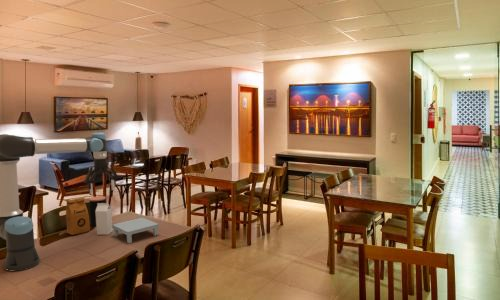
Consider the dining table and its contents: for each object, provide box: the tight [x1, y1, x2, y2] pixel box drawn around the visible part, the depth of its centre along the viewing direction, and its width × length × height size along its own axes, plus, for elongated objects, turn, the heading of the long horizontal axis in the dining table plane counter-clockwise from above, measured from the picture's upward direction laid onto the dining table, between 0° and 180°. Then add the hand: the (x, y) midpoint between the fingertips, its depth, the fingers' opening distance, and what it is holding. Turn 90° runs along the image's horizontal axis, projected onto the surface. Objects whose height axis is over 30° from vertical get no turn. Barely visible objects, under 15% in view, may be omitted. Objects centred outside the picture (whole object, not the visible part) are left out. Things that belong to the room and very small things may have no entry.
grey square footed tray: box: [112, 217, 160, 244], centre depth 222 cm, size 20×20×7 cm
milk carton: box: [95, 202, 114, 236], centre depth 227 cm, size 7×7×19 cm
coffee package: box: [65, 197, 91, 236], centre depth 229 cm, size 10×12×22 cm
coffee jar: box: [88, 195, 107, 227], centre depth 246 cm, size 11×11×18 cm
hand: (102, 192), depth 225 cm, fingers open, 13 cm apart
